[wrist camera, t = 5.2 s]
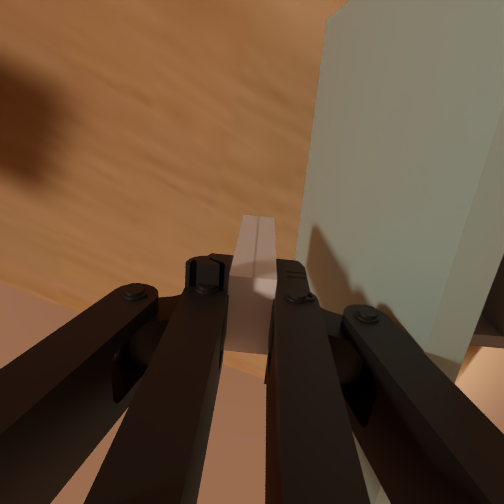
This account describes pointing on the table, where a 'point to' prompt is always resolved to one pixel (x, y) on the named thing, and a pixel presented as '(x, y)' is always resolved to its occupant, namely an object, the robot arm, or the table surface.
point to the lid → (408, 171)
